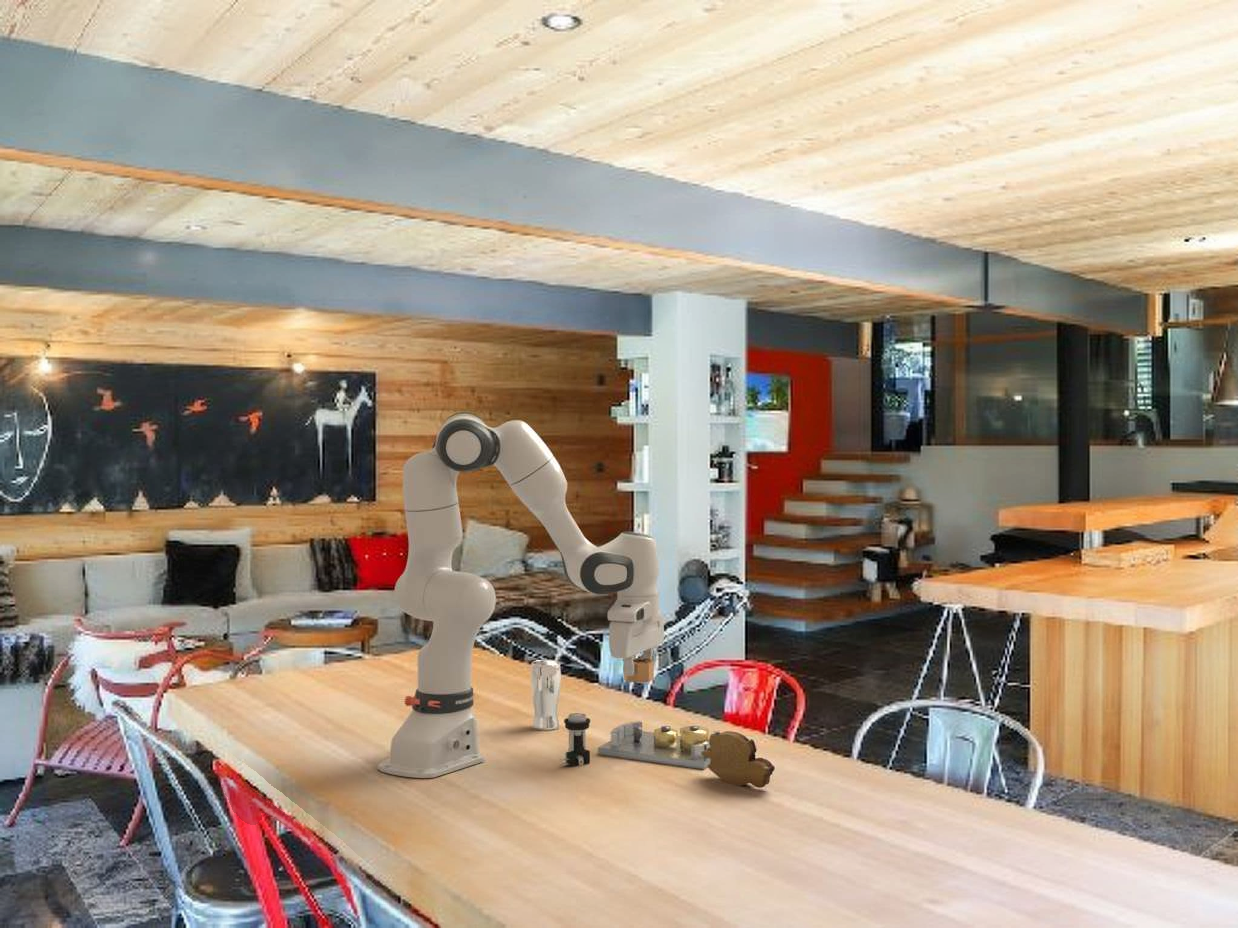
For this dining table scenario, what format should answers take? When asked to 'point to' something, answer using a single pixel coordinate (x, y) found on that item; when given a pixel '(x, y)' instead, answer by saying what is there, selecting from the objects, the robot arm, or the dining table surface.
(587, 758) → the push button
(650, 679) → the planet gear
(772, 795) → the dining table surface
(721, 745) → the wooden carving
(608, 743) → the carrier
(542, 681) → the beer glass
